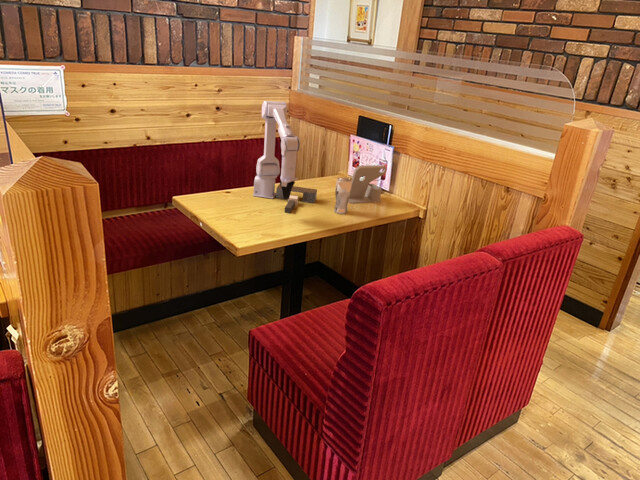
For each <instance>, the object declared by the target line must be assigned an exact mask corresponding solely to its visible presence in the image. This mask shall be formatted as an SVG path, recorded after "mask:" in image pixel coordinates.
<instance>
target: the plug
mask: <svg viewBox="0 0 640 480" xmlns="http://www.w3.org/2000/svg"><path fill="white" fill-rule="evenodd" d="M298 205H299V196H297V195H291V194H290V197H289V199H288V200H287V203H286V205H285V206H284V213H286V214H291V213H292V212H293V209H294V208H295V207H297V206H298Z"/></svg>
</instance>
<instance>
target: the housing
mask: <svg viewBox="0 0 640 480" xmlns="http://www.w3.org/2000/svg"><path fill="white" fill-rule="evenodd" d="M275 190H276V191H275V193H276V195H275V199H279V200H286V201H288V199H284V198H283V192H282V188H281V186H280V183H279V184H278V185H277V187H276V189H275ZM292 192H293V193H301V194H302V201H301V202H302V203H307V204H315V202H316V201H317V194H318V189H317V188H316V189H315V188H311V187H310V188H308V187H301V186H296V185H295V186H294V185H293V187H292V190H291V193H292Z"/></svg>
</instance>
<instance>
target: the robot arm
mask: <svg viewBox="0 0 640 480" xmlns="http://www.w3.org/2000/svg"><path fill="white" fill-rule="evenodd" d="M287 114H288V104H287V102H286V101H276V100H275V101H274V100H272V101H271V100H264V101H263V102H262V104H261V119H263V120H265V121H264V124H265V126H264V145H263V147H264V148H263V155H262V156H260V157H259V158H258V159H257V161H256V162H257V163H256V166H255V167H256V168H255V169H256V171H255V172H256V175H255V177H254V181H253V195H252V196H253V197H258V198H264V199H265V198H266V199H274V198H276V191H275V190H276V189H275V188H276V179H277V177H278V176H279V175H280V182H279V184H280V186H281V188H282V192H283V198H284V199H283V200H286V199H289V197H290V195H291V194H292V191H291V190H292V187H293V186H294V185H295V183H296V181H298V179H299V177H296V167H297V155H298V153H297V152H299V151H300V148H301V147H300V146H301V141H300V138H299V136H297V135H295V133H294V130H293V128H292V127H293V126H292V125H291V124H290V123H288V120H287ZM277 126H278V128H277ZM277 132H278V135H279V137H280V138H279V139H280V140H281V141H280V150H281V153H280V154H281V168H280V161H279V159H278V158H277V157H276V156H275V153H276V152H275V151H276V148H275V147H276V133H277Z"/></svg>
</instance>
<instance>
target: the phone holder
mask: <svg viewBox="0 0 640 480" xmlns="http://www.w3.org/2000/svg"><path fill="white" fill-rule="evenodd" d="M387 169H388V168H387V167H386V166H385V165H384V164H383V165H382V164H380V165H379V164H377V165H376V164H371V165H357V166H356V167H355V169H354V171H353V175H352V177H351V180H352V189H351V194H350V198H349V201H348V204H352V205H353V204H354V205H355V204H367V203H368V204H369V203H381V202H382V201H381V196H382V188H381V187H379V186H378V185H377V184H375V183H371V182H374V181H375V180H377V179H379V178H380V177H382V176H384V175H385V174H386V172H387ZM381 170H382V171H381ZM362 177H364V179H362V180H360V179H361V178H362Z"/></svg>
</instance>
